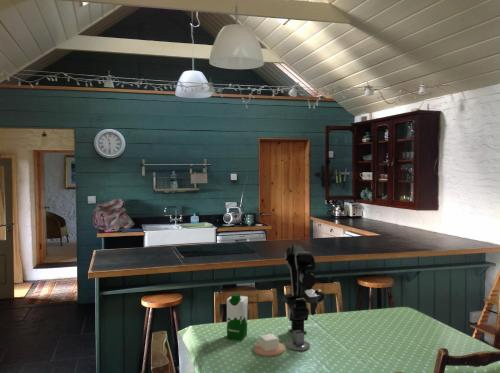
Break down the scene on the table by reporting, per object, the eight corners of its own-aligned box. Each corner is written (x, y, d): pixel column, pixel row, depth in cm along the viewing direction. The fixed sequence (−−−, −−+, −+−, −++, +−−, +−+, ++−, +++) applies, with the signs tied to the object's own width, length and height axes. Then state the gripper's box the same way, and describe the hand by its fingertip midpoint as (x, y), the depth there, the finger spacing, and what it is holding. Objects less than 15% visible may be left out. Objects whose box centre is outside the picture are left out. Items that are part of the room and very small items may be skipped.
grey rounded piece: (282, 344, 189) (282, 329, 188) (302, 340, 193) (302, 326, 193) (293, 353, 180) (294, 337, 179) (314, 349, 184) (314, 334, 184)
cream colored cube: (259, 345, 184) (259, 335, 184) (272, 343, 187) (272, 333, 186) (266, 351, 179) (266, 340, 178) (278, 348, 181) (278, 338, 181)
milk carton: (224, 339, 193) (224, 295, 192) (231, 332, 202) (232, 289, 201) (242, 342, 191) (243, 297, 190) (249, 334, 199) (249, 291, 198)
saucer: (248, 346, 186) (248, 343, 186) (275, 341, 191) (275, 339, 191) (261, 358, 174) (262, 355, 174) (290, 353, 180) (290, 350, 179)
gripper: (294, 288, 177) (293, 325, 178) (332, 283, 185) (331, 319, 185) (281, 281, 188) (281, 317, 188) (318, 277, 195) (317, 311, 196)
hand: (303, 316), depth 189 cm, fingers open, 9 cm apart
